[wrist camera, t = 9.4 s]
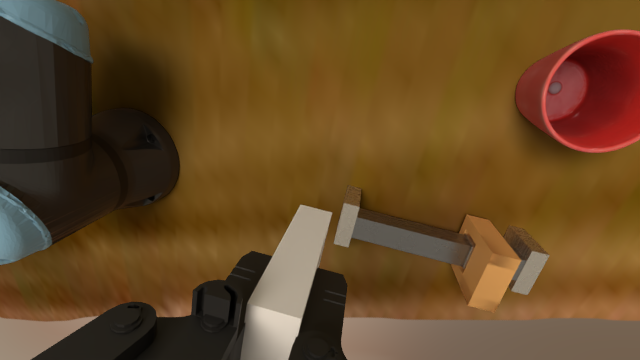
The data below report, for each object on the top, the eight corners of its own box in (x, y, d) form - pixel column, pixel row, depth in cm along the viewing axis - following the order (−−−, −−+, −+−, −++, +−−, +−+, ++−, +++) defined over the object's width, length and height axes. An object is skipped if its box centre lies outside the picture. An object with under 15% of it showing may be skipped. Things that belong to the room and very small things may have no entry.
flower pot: (581, 19, 34) (657, -1, 25) (616, 105, 36) (697, 115, 27) (486, 74, 37) (523, 74, 28) (523, 150, 39) (568, 173, 30)
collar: (448, 258, 44) (467, 305, 35) (466, 214, 42) (492, 253, 33) (469, 263, 44) (494, 312, 35) (489, 220, 41) (521, 260, 33)
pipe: (338, 221, 47) (333, 243, 41) (347, 185, 45) (343, 203, 38) (506, 264, 45) (527, 295, 39) (523, 229, 43) (549, 255, 36)
